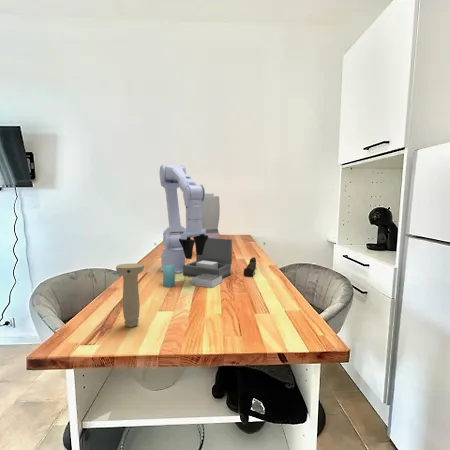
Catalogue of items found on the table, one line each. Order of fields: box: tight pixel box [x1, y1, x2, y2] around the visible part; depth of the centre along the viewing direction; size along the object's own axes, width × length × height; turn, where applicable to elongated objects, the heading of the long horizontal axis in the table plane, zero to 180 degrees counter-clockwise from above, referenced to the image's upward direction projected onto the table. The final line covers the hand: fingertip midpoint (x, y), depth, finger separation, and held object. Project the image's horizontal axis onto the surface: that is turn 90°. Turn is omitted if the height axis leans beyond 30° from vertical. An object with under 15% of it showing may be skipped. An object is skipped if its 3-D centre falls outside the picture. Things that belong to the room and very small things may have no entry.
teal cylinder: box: [162, 265, 176, 288], centre depth 113 cm, size 4×4×7 cm
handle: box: [115, 263, 145, 328], centre depth 79 cm, size 5×6×15 cm
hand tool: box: [243, 257, 257, 278], centre depth 134 cm, size 19×4×5 cm, turn 166°
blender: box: [202, 192, 221, 239], centre depth 166 cm, size 16×12×32 cm
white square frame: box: [191, 273, 223, 289], centre depth 115 cm, size 8×8×2 cm
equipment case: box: [182, 238, 233, 280], centre depth 127 cm, size 16×11×14 cm
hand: (194, 256), depth 116 cm, fingers open, 7 cm apart
